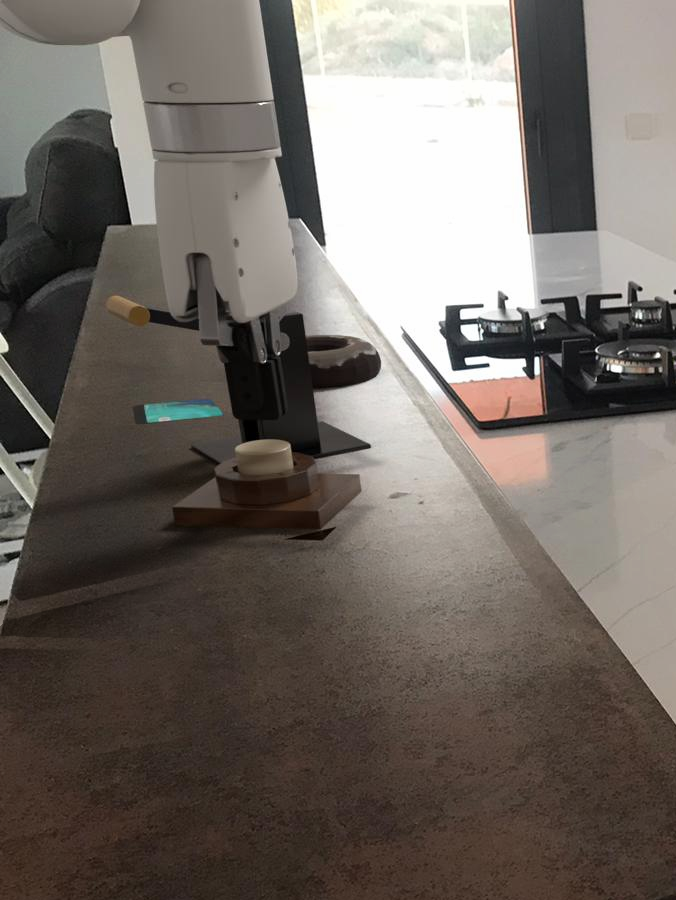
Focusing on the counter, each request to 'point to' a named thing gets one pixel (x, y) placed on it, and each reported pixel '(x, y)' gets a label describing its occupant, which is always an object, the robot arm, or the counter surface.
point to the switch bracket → (290, 409)
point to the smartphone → (175, 411)
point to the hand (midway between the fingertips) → (261, 416)
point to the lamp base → (270, 499)
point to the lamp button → (263, 457)
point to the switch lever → (145, 314)
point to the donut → (341, 360)
